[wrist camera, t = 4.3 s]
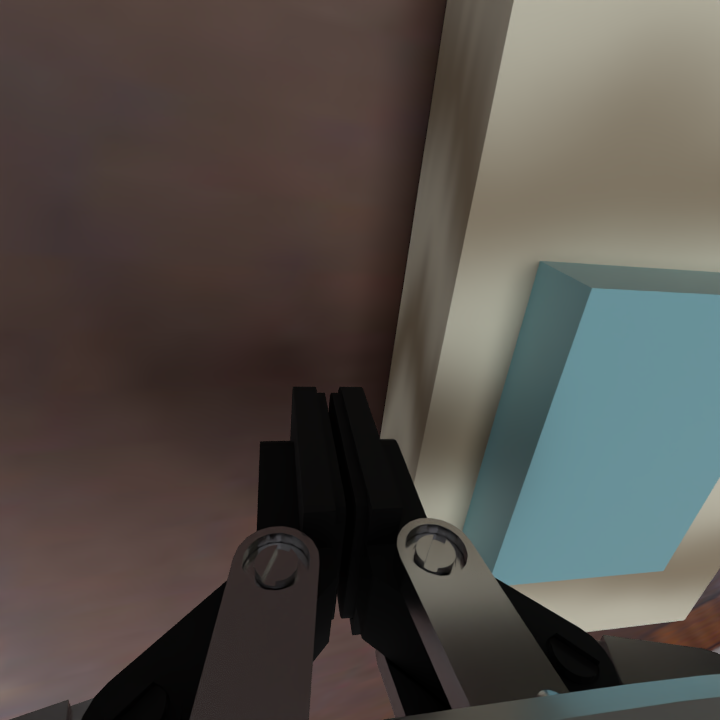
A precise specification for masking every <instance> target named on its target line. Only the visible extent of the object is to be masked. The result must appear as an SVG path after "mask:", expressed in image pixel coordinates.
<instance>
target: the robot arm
mask: <svg viewBox="0 0 720 720" xmlns="http://www.w3.org/2000/svg"><path fill="white" fill-rule="evenodd" d="M336 597H338V604H339V611H340V616H341V618H350V624H351V630H352V635H359V634H361V636H362V639H363V640H365V641H366V642H367V643H369V644H370V645H371V646H372V647H374V648H375V649H376V650H375V654H376V660H377V665H378V668H379V671H380V673H381V676H382V679H383V682H384V685H385V688H386V691H387V694H388V697H389V700H390V703H391V706H392V709H393V712H394V715H395V718H392V719H385V720H720V654H718V653H715V652H712V651H709V650H706V649H702V648H695V647H688V646H680V645H673V644H666V643H658V642H651V641H644V640H636V639H629V638H622V637H614V636H607V635H603V636H602V637H601V639H600V641H598V640H595V639H594V638H593V637H592V636H590V635H589V634H588V633H586V632H585V631H584V630H582V629H581V628H579V627H578V626H576V625H574V624H573V623H571V622H569V621H568V620H566V619H564V618H563V617H561V616H559V615H557V614H556V613H554V612H552V611H551V610H549V609H547V608H546V607H544V606H542V605H541V604H539V603H537V602H536V601H534V600H532V599H530V598H529V597H527V596H525V595H524V594H522V593H520V592H519V591H517V590H515V589H514V588H512V587H510V586H509V585H507V584H505V583H503V582H502V581H500V580H498V579H497V578H495V577H494V576H493V574H492V573H491V571H490V570H489V568H488V567H487V565H486V564H485V562H484V561H483V559H482V557H481V556H480V554H479V553H478V551H477V550H476V548H475V547H474V545H473V544H472V542H471V541H470V540H469V538H468V537H467V536H466V535H465V534H464V533H463V532H462V531H461V530H460V529H458V528H457V527H455V526H454V525H452V524H450V523H448V522H445V521H443V520H439V519H434V518H427V516H426V514H425V511H424V509H423V506H422V504H421V501H420V498H419V496H418V493H417V491H416V488H415V486H414V483H413V481H412V478H411V475H410V473H409V470H408V468H407V465H406V463H405V460H404V457H403V455H402V452H401V450H400V447H399V445H398V443H397V441H396V440H395V439H380V438H379V435H378V432H377V429H376V426H375V423H374V420H373V417H372V414H371V411H370V408H369V405H368V402H367V399H366V396H365V394H364V391H363V388H362V387H339V390H338V393H331V394H330V402H329V413H328V407H327V402H326V397H325V393H317V390H316V387H293V392H292V414H291V437H290V441H263V442H260V460H259V487H258V514H257V531H256V532H255V533H253V534H252V535H250V536H248V537H247V538H246V539H245V540H244V541H243V542H242V543H241V544H240V545H239V546H238V548H237V551H236V553H235V555H234V557H233V560H232V564H231V568H230V572H229V575H228V579H227V581H226V582H225V583H223V584H222V585H221V586H220V587H219V588H218V589H216V590H215V591H214V592H213V593H212V594H211V595H209V596H208V597H207V598H206V599H205V600H204V601H203V602H201V603H200V604H199V605H198V606H197V607H196V608H194V609H193V610H192V611H191V612H190V613H189V614H187V615H186V616H185V617H184V618H183V619H182V620H180V621H179V622H178V623H177V624H176V625H175V626H173V627H172V628H171V629H170V630H169V631H168V632H166V633H165V634H164V635H163V636H162V637H161V638H159V639H158V640H157V641H156V642H155V643H154V644H153V645H151V646H150V647H149V648H148V649H147V650H146V651H144V652H143V653H142V654H141V655H140V656H139V657H137V658H136V659H135V660H134V661H133V662H132V663H130V664H129V665H128V666H127V667H126V668H125V669H123V670H122V671H121V672H120V673H119V674H118V675H116V676H115V677H114V678H113V679H112V680H111V681H110V682H108V683H107V684H106V686H105V687H104V688H103V689H102V690H101V691H100V692H99V693H98V694H97V695H96V696H95V697H94V698H93V699H90V700H87V701H84V702H81V703H78V704H75V705H73V706H70V703H69V700H66V701H63V702H60V703H57V704H54V705H51V706H48V707H45V708H42V709H40V710H37V711H34V712H31V713H28V714H25V715H22V716H19V717H16V718H13V719H10V720H309V709H310V695H311V680H312V665H313V661H314V660H315V659H316V657H317V656H318V655H319V654H320V652H321V651H322V650H323V649H324V647H325V646H326V645H327V644H328V642H329V636H330V628H331V620H332V619H334V613H335V605H336Z"/></svg>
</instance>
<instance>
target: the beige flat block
mask: <svg viewBox="0 0 720 720" xmlns="http://www.w3.org/2000/svg"><path fill="white" fill-rule="evenodd" d="M540 261H550V262H566V263H581V264H597V265H612V266H628V267H644V268H659V269H675V270H690V271H706V272H720V0H447V5H446V11H445V18H444V24H443V31H442V37H441V44H440V50H439V57H438V63H437V70H436V76H435V83H434V89H433V96H432V103H431V109H430V116H429V122H428V129H427V135H426V142H425V148H424V155H423V161H422V168H421V174H420V181H419V187H418V194H417V200H416V207H415V213H414V220H413V226H412V233H411V239H410V246H409V252H408V259H407V265H406V272H405V278H404V285H403V291H402V298H401V304H400V311H399V317H398V324H397V330H396V337H395V344H394V350H393V357H392V363H391V370H390V376H389V383H388V389H387V396H386V402H385V409H384V415H383V422H382V428H381V435H380V439H395V440H396V441H397V443H398V445H399V447H400V450H401V452H402V455H403V457H404V460H405V463H406V465H407V468H408V470H409V473H410V475H411V478H412V481H413V483H414V486H415V488H416V491H417V493H418V496H419V498H420V501H421V504H422V506H423V509H424V511H425V514H426V516H427V518H434V519H439V520H443V521H445V522H448V523H450V524H452V525H454V526H455V527H457V528H458V529H460V530H461V531H462V530H463V526H464V523H465V519H466V516H467V512H468V509H469V506H470V502H471V499H472V495H473V492H474V488H475V485H476V481H477V478H478V474H479V471H480V467H481V464H482V460H483V457H484V453H485V450H486V446H487V443H488V440H489V436H490V433H491V429H492V426H493V422H494V419H495V415H496V412H497V408H498V405H499V401H500V398H501V394H502V391H503V387H504V384H505V380H506V377H507V374H508V370H509V367H510V363H511V360H512V356H513V353H514V349H515V346H516V342H517V339H518V335H519V332H520V328H521V325H522V321H523V318H524V314H525V311H526V307H527V304H528V301H529V297H530V294H531V290H532V287H533V283H534V280H535V276H536V273H537V269H538V266H539V262H540ZM719 568H720V478H719V479H718V481H717V483H716V484H715V486H714V488H713V489H712V491H711V493H710V494H709V496H708V498H707V499H706V501H705V503H704V504H703V506H702V508H701V509H700V511H699V513H698V514H697V516H696V518H695V519H694V521H693V523H692V524H691V526H690V528H689V529H688V531H687V533H686V534H685V536H684V538H683V539H682V541H681V543H680V544H679V546H678V548H677V549H676V551H675V552H674V554H673V556H672V557H671V559H670V561H669V562H668V564H667V566H666V567H665V569H664V571H658V572H647V573H637V574H626V575H615V576H604V577H594V578H583V579H572V580H561V581H551V582H540V583H529V584H518V585H509V586H510V587H512V588H514V589H515V590H517V591H519V592H520V593H522V594H524V595H525V596H527V597H529V598H530V599H532V600H534V601H536V602H537V603H539V604H541V605H542V606H544V607H546V608H547V609H549V610H551V611H552V612H554V613H556V614H557V615H559V616H561V617H563V618H564V619H566V620H568V621H569V622H571V623H573V624H574V625H576V626H578V627H579V628H581V629H582V630H584V631H585V632H590V631H598V630H607V629H615V628H623V627H632V626H640V625H648V624H657V623H665V622H673V621H682V620H685V618H686V617H687V615H688V614H689V612H690V611H691V609H692V608H693V606H694V605H695V604H696V602H697V601H698V599H699V598H700V596H701V595H702V593H703V592H704V590H705V589H706V587H707V586H708V584H709V583H710V582H711V580H712V579H713V577H714V576H715V574H716V573H717V571H718V570H719Z"/></svg>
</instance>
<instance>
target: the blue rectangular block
mask: <svg viewBox="0 0 720 720" xmlns="http://www.w3.org/2000/svg"><path fill="white" fill-rule="evenodd" d="M719 478H720V272H706V271H690V270H675V269H659V268H644V267H628V266H612V265H597V264H581V263H566V262H550V261H540V262H539V266H538V269H537V273H536V276H535V280H534V283H533V287H532V290H531V294H530V297H529V301H528V304H527V307H526V311H525V314H524V318H523V321H522V325H521V328H520V332H519V335H518V339H517V342H516V346H515V349H514V353H513V356H512V360H511V363H510V367H509V370H508V374H507V377H506V380H505V384H504V387H503V391H502V394H501V398H500V401H499V405H498V408H497V412H496V415H495V419H494V422H493V426H492V429H491V433H490V436H489V440H488V443H487V446H486V450H485V453H484V457H483V460H482V464H481V467H480V471H479V474H478V478H477V481H476V485H475V488H474V492H473V495H472V499H471V502H470V506H469V509H468V512H467V516H466V519H465V523H464V526H463V530H462V532H463V533H464V534H465V535H466V536H467V537H468V538H469V540H470V541H471V542H472V544H473V545H474V547H475V548H476V550H477V551H478V553H479V554H480V556H481V557H482V559H483V561H484V562H485V564H486V565H487V567H488V568H489V570H490V571H491V573H492V574H493V576H494V577H495V578H497V579H498V580H500V581H502V582H503V583H505V584H507V585H518V584H529V583H540V582H551V581H561V580H572V579H583V578H594V577H604V576H615V575H626V574H637V573H647V572H658V571H664V569H665V567H666V566H667V564H668V562H669V561H670V559H671V557H672V556H673V554H674V552H675V551H676V549H677V548H678V546H679V544H680V543H681V541H682V539H683V538H684V536H685V534H686V533H687V531H688V529H689V528H690V526H691V524H692V523H693V521H694V519H695V518H696V516H697V514H698V513H699V511H700V509H701V508H702V506H703V504H704V503H705V501H706V499H707V498H708V496H709V494H710V493H711V491H712V489H713V488H714V486H715V484H716V483H717V481H718V479H719Z"/></svg>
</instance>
